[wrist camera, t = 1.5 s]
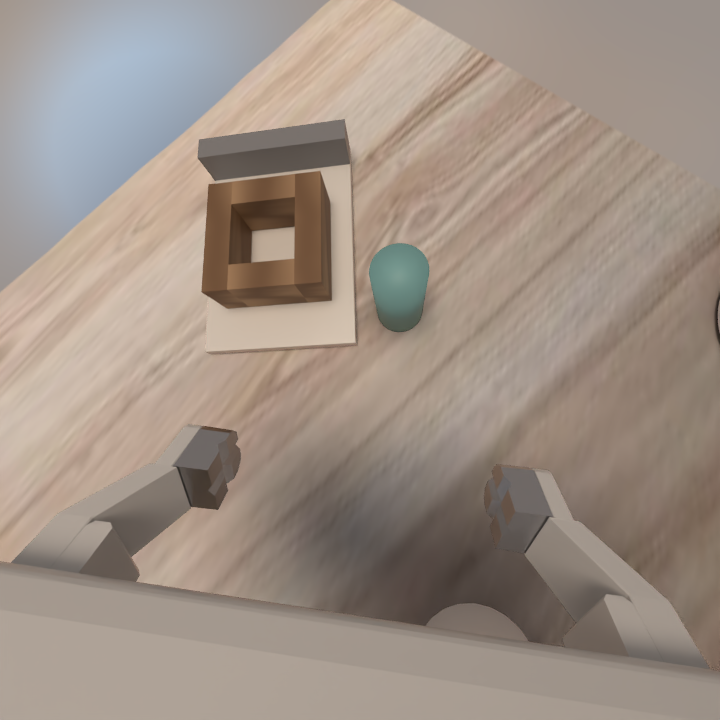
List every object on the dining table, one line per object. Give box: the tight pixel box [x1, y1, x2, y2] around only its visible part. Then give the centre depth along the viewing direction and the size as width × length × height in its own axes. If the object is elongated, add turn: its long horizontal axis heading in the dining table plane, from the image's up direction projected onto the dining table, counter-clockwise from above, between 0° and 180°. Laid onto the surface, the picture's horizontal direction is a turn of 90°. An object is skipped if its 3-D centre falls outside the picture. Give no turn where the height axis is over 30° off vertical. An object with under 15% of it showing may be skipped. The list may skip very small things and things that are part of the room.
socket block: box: [202, 171, 332, 309], centre depth 29 cm, size 10×10×4 cm
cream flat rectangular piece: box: [198, 119, 357, 354], centre depth 31 cm, size 14×20×4 cm
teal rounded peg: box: [369, 243, 429, 332], centre depth 26 cm, size 4×4×8 cm
